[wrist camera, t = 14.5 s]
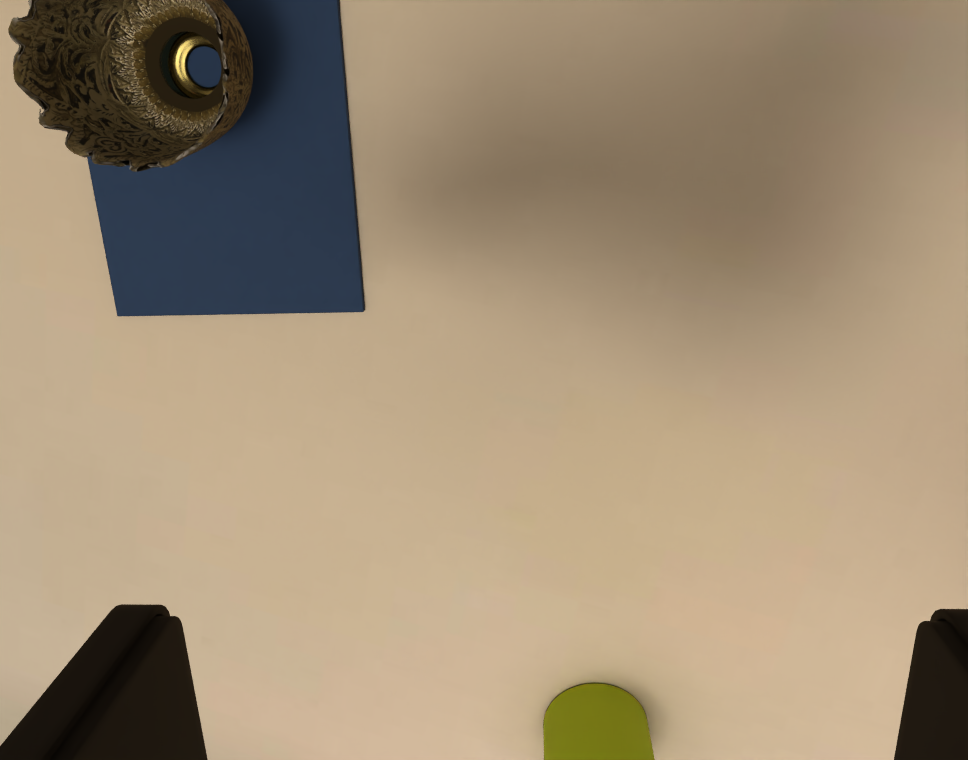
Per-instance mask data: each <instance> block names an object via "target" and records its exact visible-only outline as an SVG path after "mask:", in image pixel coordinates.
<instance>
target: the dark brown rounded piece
mask: <svg viewBox="0 0 968 760" xmlns="http://www.w3.org/2000/svg"><path fill="white" fill-rule="evenodd" d="M28 2H29V6H30V9H29V13H28V15H27V16H25V17H23V18H18V17H17V18H13V19H12V21H11V24H10V26H9V35H10V37H11V38H12V39H13V41H14V42H15V43H16V44H18V45H19V48H18V51H17V52H16V54H15V56H14V62H13V70H14V79H15V82H16V83H17V85H18V86H19V87H20V88H21V89H22V90H23V91H24V92H25V93H26V94H27V95H28V96H29V97H30V98H31V99H33V100H34V101H36V102H37V103H38V104H39V105H40V106H41V107H42V109H43V108H44V111H43V113H40V112H41V110H40V112H39V113H40V115H39V123H40V124H41V125H42V126H43V127H44V128H48V129H56V130H62V131H67V132H68V134H67V137H66V141H65V145H66V146H67V148H68V149H69V150H70V151H72V152H73V153H74V154H77V155H79V156H82V157H90V156H91V158H90V159H91V160H92V162H93V163H94V164H99V165H113V166H117V167H124V166H130V167H129V169H130V170H131V171H134V172H138V171H144V170H147V169H150V168H155V167H161V168H163V167H167V166H170V165H173V164H175V163H176V162H178V161H180V160H181V159H183V158H185V157H187V156H189V155H191V154H193V153H195V152H197V151H199V150H201V149H203V148H205V147H207V146H209V145H210V144H212V143H213V142H215V141H216V140H218V139H219V138H221V137H222V136H223V135H224V134H226V133H227V132H228V131H229V130H230V129H231V128H232V127H233V126H234V125H235V123H236V122H237V120H238V119H239V118H240V116H241V114H242V113H243V111H244V109H245V107H246V105H247V102H248V100H249V96H250V93H251V88H252V83H253V62H252V55H251V51H250V47H249V44H248V41H247V38H246V35H245V33H244V31H243V29H242V27H241V25H240V23H239V22H238V20H237V18H236V17H235V15H234V14H233V12H232V11H231V10H230V8H229V7H228V6H227V5H226V4H225V2H224V1H223V0H29V1H28ZM203 46H204V47H209V48H212V49H214V50H215V51H216V52H217V53H218V55H219V58H220V62H221V77H220V80H219V83H218V84H217V85H215V86H213V87H203V86H200V85H198V84H197V83H196V82H194V81H193V79H192V78H191V77H190V75H189V72H188V69H187V60H188V57H189V55H190V53H191V52H192V51H193V50H194V49H196V48H198V47H203Z"/></svg>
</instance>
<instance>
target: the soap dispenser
mask: <svg viewBox="0 0 968 760" xmlns="http://www.w3.org/2000/svg"><path fill="white" fill-rule="evenodd" d="M543 728H544V760H654V755H653V749H652V744H651V739H650V734H649V728H648V723H647V718H646V715H645V712H644V710H643V708H642V706H641V705H640V703H639V702H638V701H637V700H636V699H635V698H634V697H633V696H632V695H630V694H629V693H627V692H626V691H624V690H622V689H620V688H617V687H615V686H611V685H606V684H584V685H579V686H576V687H573V688H571V689H568V690H566V691H565V692H563V693H561V694H560V695H559V696H558V697H556V698H555V699H554V700H553V702H552V703H551V704H550V706H549V707H548V709H547V711H546V713H545V717H544V724H543Z"/></svg>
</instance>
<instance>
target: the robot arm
mask: <svg viewBox="0 0 968 760" xmlns="http://www.w3.org/2000/svg"><path fill="white" fill-rule="evenodd" d="M0 760H207V755H206V749H205V744H204V739H203V733H202V728H201V723H200V717H199V712H198V707H197V701H196V696H195V691H194V685H193V680H192V675H191V669H190V664H189V659H188V653H187V648H186V643H185V637H184V632H183V627H182V623H181V621H180V619H179V618H178V617H176V616H170V614H169V611H168V610H167V608H166V607H165V606H163V605H118V606H116V607H115V608H114V609H112V610H111V611H110V613H109V614H108V615H107V616H106V618H105V619H104V620H103V621H102V622H101V624H100V625H99V626H98V627H97V629H96V630H95V631H94V632H93V633H92V635H91V636H90V637H89V638H88V640H87V641H86V642H85V643H84V644H83V646H82V647H81V648H80V649H79V651H78V652H77V653H76V654H75V655H74V657H73V658H72V659H71V660H70V662H69V663H68V664H67V665H66V666H65V668H64V669H63V670H62V671H61V673H60V674H59V675H58V676H57V677H56V679H55V680H54V681H53V682H52V684H51V685H50V686H49V687H48V688H47V690H46V691H45V692H44V693H43V695H42V696H41V697H40V698H39V699H38V701H37V702H36V703H35V704H34V706H33V707H32V708H31V709H30V710H29V712H28V713H27V714H26V715H25V717H24V718H23V719H22V720H21V721H20V723H19V724H18V725H17V726H16V728H15V729H14V730H13V731H12V732H11V734H10V735H9V736H8V737H7V739H6V740H5V741H4V742H3V743H2V745H1V746H0ZM894 760H968V609H939V610H937V611H935V612H934V614H933V615H932V617H931V620H930V621H924V622H921V623H920V624H919V626H918V629H917V632H916V638H915V644H914V649H913V655H912V661H911V666H910V672H909V678H908V683H907V689H906V695H905V700H904V706H903V712H902V717H901V723H900V729H899V734H898V740H897V746H896V751H895V757H894Z"/></svg>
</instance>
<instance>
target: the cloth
mask: <svg viewBox="0 0 968 760" xmlns="http://www.w3.org/2000/svg"><path fill="white" fill-rule="evenodd" d="M223 1H224V2H225V4H226V5H227V6H228V7H229V8H230V10H231V11H232V12H233V14H234V15H235V17H236V18H237V20H238V22H239V23H240V25H241V27H242V29H243V31H244V33H245V35H246V38H247V41H248V44H249V47H250V51H251V55H252V62H253V83H252V88H251V93H250V96H249V100H248V102H247V105H246V107H245V109H244V111H243V113H242V114H241V116H240V118H239V119H238V120H237V122H236V123H235V125H234V126H233V127H232V128H231V129H230V130H229V131H228V132H227V133H226V134H224V135H223V136H222V137H221V138H219V139H218V140H216V141H215V142H213V143H212V144H210V145H209V146H207V147H205V148H203V149H201V150H199V151H197V152H195V153H193V154H191V155H189V156H187V157H185V158H183V159H181V160H180V161H178V162H176V163H175V164H173V165H170V166H167V167H163V168H161V167H155V168H150V169H147V170H144V171H138V172H134V171H131V170H130V169H129V167H130V166H124V167H117V166H113V165H99V164H94V163H93V162H92V160H91V159H90V158H91V156H90V157H87V159H88V164H89V169H90V174H91V180H92V185H93V190H94V195H95V201H96V206H97V211H98V216H99V222H100V227H101V232H102V237H103V243H104V248H105V253H106V258H107V264H108V269H109V274H110V279H111V285H112V290H113V295H114V300H115V306H116V311H117V316H162V315H218V314H275V313H332V312H364V310H365V304H364V292H363V281H362V269H361V257H360V245H359V233H358V221H357V209H356V197H355V185H354V173H353V162H352V150H351V138H350V126H349V114H348V102H347V90H346V78H345V66H344V54H343V42H342V31H341V19H340V7H339V0H223ZM187 69H188V72H189V75H190V77H191V78H192V79H193V81H194V82H196V83H197V84H198V85H200V86H203V87H213V86H215V85H217V84H218V83H219V80H220V77H221V62H220V58H219V55H218V53H217V52H216V51H215V50H214V49H212V48H209V47H204V46H203V47H198V48H196V49H194V50H193V51H192V52H191V53H190V55H189V57H188V60H187Z"/></svg>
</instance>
